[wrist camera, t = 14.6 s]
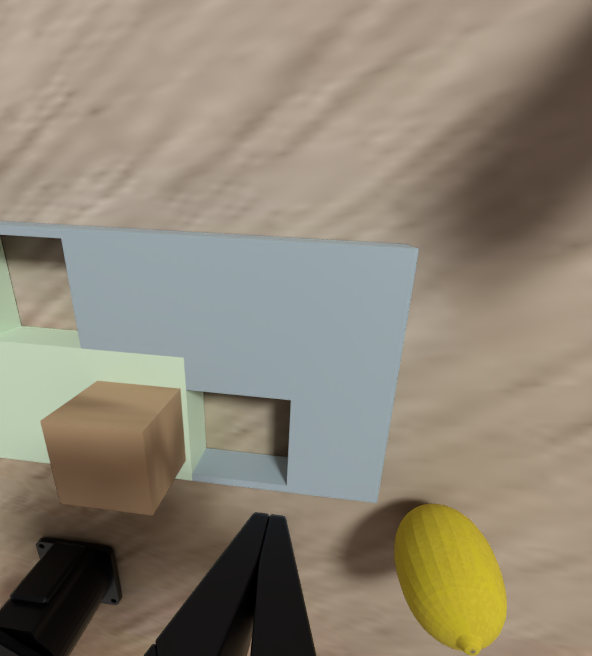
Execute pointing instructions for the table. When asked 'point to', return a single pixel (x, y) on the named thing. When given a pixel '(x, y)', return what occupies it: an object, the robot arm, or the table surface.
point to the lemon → (450, 578)
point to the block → (116, 446)
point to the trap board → (222, 344)
